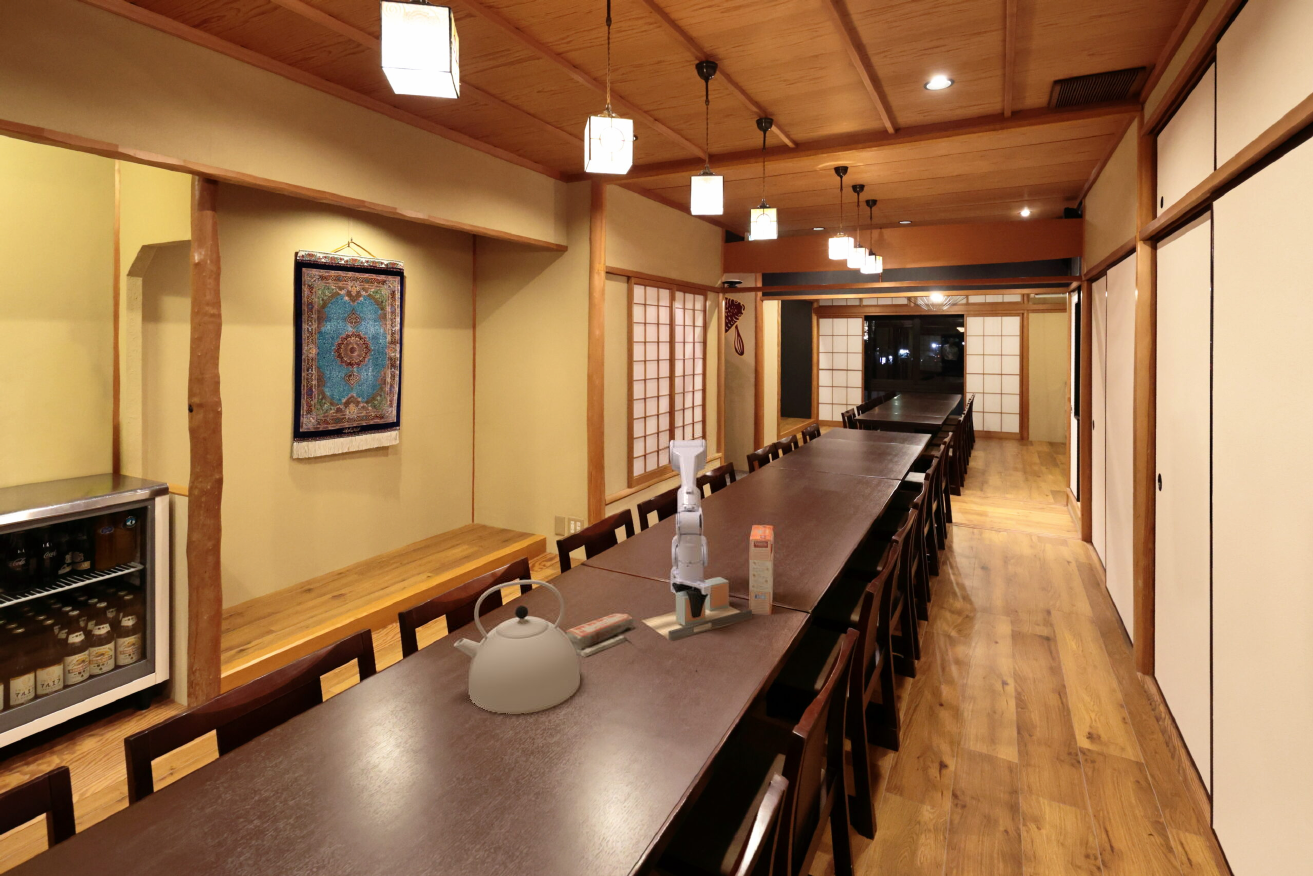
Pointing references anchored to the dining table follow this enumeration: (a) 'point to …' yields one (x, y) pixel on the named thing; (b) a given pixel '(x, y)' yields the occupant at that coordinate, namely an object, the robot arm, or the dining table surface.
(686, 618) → the turn carton
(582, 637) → the packaged product
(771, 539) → the cracker box
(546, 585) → the kettle
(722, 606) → the faced carton
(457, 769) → the dining table surface
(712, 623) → the shelf board
